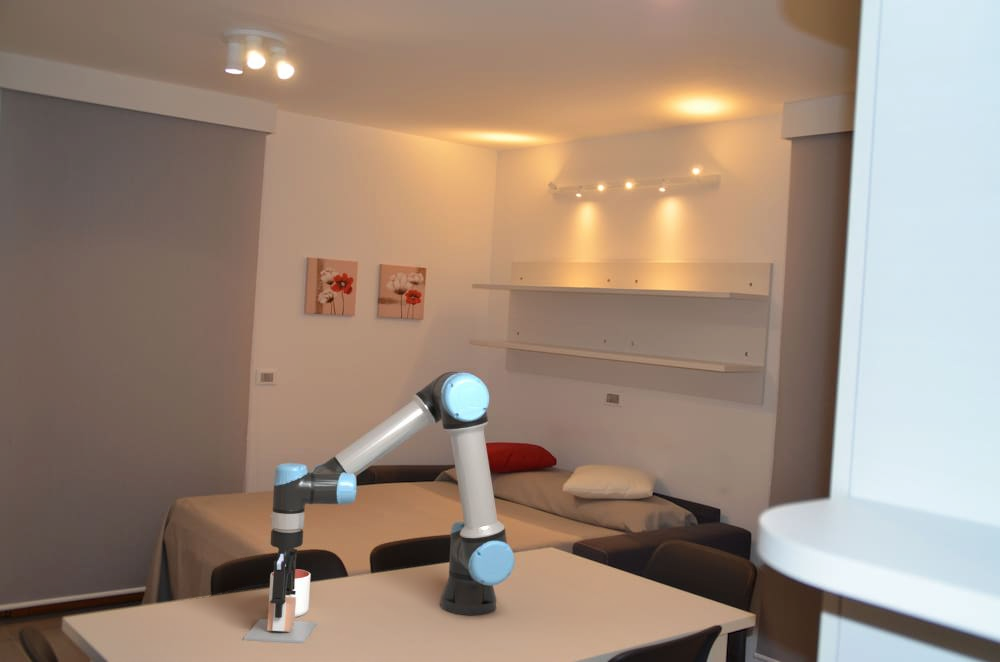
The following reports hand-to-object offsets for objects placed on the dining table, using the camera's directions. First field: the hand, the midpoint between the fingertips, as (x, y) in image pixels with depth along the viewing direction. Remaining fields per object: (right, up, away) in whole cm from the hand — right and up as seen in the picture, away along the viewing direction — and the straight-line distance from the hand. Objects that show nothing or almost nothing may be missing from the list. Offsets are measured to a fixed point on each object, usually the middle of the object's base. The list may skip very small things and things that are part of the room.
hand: (281, 626), depth 207 cm
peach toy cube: (0, 0, 0) cm, 0 cm away
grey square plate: (0, -1, 0) cm, 1 cm away
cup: (-2, -2, +15) cm, 15 cm away
